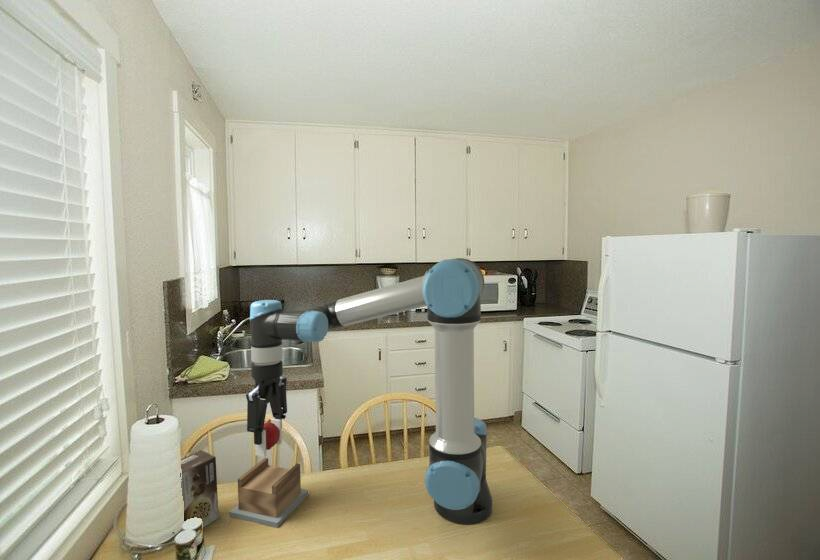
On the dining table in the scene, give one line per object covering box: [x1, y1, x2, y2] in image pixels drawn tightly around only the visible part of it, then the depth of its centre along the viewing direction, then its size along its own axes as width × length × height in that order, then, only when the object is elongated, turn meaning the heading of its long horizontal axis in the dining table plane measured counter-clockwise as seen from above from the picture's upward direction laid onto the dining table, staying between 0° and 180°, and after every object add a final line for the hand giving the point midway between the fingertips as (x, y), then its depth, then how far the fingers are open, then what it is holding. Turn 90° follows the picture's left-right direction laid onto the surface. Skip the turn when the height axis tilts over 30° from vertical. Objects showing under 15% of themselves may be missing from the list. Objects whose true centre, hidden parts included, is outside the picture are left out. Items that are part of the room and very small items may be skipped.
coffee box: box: [180, 449, 219, 528], centre depth 99 cm, size 9×6×16 cm
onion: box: [263, 418, 280, 451], centre depth 106 cm, size 6×6×8 cm
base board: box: [228, 488, 309, 529], centre depth 107 cm, size 14×14×1 cm
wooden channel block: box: [237, 457, 302, 518], centre depth 107 cm, size 11×11×8 cm
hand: (268, 448), depth 106 cm, fingers closed on onion, 6 cm apart
